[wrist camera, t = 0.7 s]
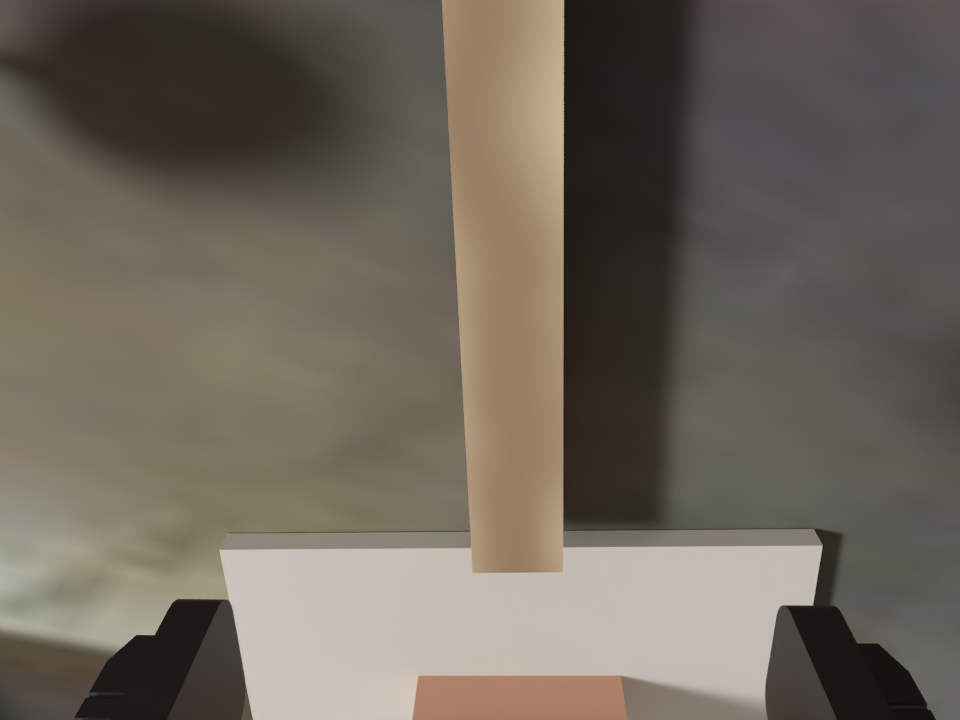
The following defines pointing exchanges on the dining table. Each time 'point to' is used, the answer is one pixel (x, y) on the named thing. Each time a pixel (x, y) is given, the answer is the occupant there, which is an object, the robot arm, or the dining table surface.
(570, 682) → the tile
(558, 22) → the oak stick
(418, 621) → the white panel
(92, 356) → the dining table surface
